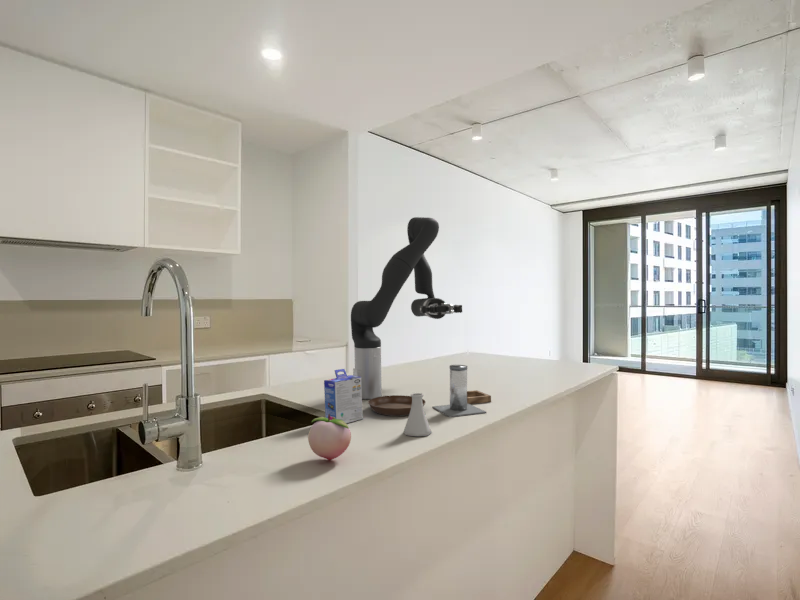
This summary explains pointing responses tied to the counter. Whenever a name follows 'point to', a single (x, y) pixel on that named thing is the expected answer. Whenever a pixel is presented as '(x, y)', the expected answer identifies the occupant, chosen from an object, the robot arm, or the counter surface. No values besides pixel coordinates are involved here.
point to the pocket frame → (477, 397)
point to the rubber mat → (450, 413)
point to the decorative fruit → (329, 437)
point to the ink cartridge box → (343, 397)
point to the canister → (458, 387)
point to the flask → (417, 418)
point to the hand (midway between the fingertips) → (446, 309)
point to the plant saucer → (392, 405)
